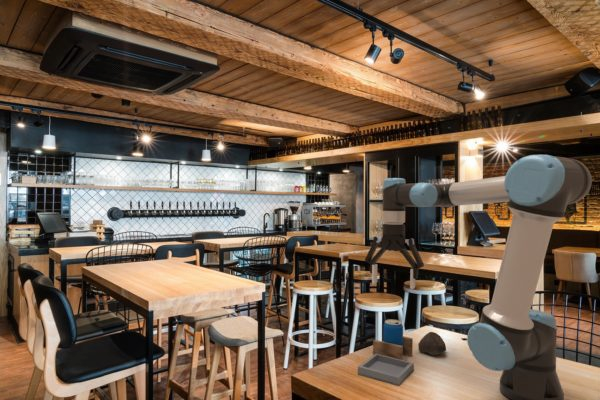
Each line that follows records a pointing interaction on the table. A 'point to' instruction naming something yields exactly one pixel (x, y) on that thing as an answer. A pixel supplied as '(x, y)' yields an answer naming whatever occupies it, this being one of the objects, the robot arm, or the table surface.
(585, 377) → the table surface
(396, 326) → the beverage can
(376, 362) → the tray
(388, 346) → the cradle
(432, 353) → the stone
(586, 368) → the table surface
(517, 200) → the robot arm
